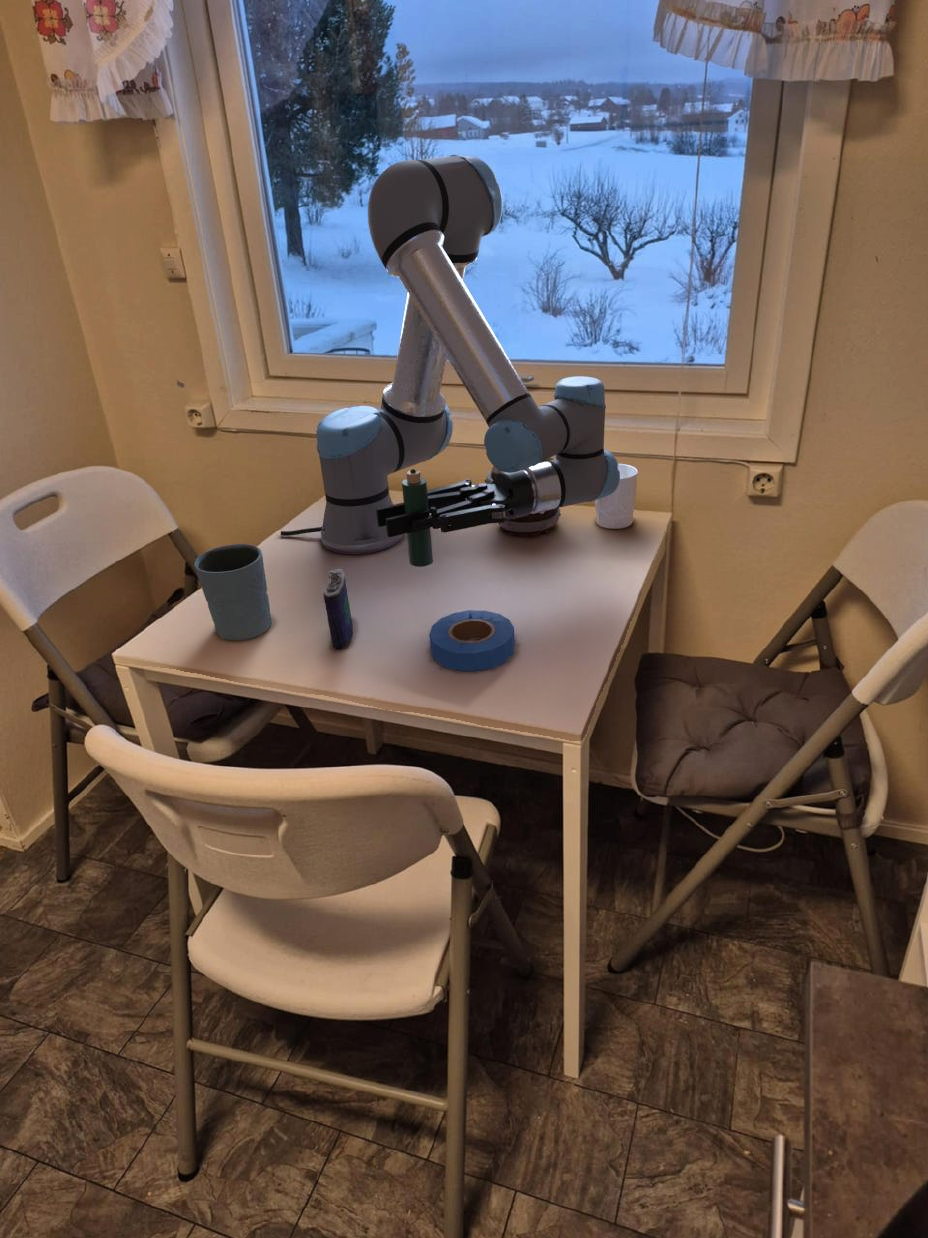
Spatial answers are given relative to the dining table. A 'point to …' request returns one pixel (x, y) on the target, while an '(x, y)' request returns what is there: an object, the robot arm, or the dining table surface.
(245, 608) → the blue cup
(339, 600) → the flask
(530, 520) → the flowerpot
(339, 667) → the dining table surface
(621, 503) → the grey faceted cup
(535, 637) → the dining table surface
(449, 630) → the tape roll
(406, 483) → the green cylinder
